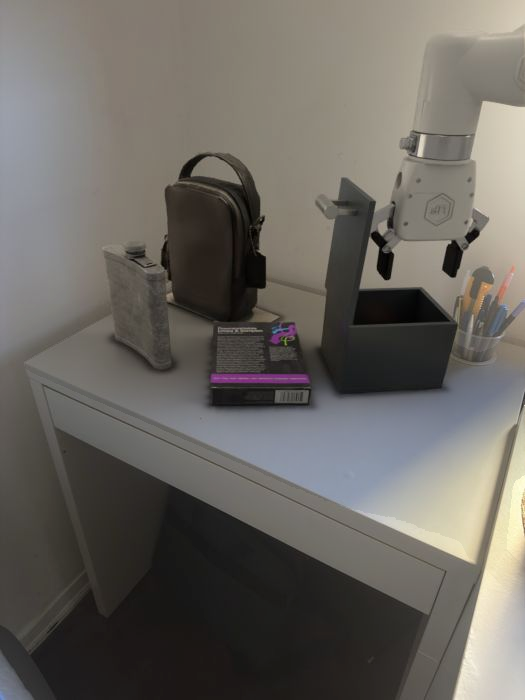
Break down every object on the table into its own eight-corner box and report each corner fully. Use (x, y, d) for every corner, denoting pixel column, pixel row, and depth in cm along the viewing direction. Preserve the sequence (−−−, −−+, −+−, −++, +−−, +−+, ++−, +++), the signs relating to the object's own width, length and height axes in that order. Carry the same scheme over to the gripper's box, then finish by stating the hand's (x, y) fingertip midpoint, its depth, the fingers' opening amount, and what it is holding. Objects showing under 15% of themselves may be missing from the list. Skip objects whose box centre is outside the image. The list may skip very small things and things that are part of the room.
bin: (409, 345, 85) (422, 286, 79) (442, 387, 74) (458, 323, 69) (320, 349, 83) (326, 289, 77) (340, 393, 72) (349, 328, 67)
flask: (131, 330, 87) (118, 228, 77) (179, 363, 78) (172, 253, 69) (112, 336, 84) (97, 233, 75) (159, 371, 76) (149, 259, 66)
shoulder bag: (279, 316, 93) (287, 157, 78) (249, 335, 86) (252, 166, 72) (191, 285, 104) (183, 141, 89) (158, 299, 98) (145, 146, 83)
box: (309, 408, 70) (294, 336, 86) (312, 387, 68) (296, 319, 84) (209, 407, 69) (213, 335, 85) (209, 387, 67) (213, 317, 83)
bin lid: (346, 177, 69) (311, 175, 68) (376, 201, 58) (335, 199, 57) (329, 286, 77) (297, 286, 76) (352, 325, 66) (316, 324, 66)
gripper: (384, 153, 58) (366, 288, 67) (521, 152, 60) (486, 283, 69) (364, 143, 64) (350, 267, 73) (489, 142, 67) (461, 264, 75)
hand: (416, 275), depth 71 cm, fingers open, 9 cm apart
